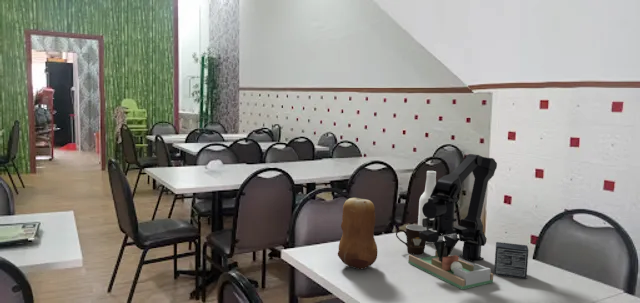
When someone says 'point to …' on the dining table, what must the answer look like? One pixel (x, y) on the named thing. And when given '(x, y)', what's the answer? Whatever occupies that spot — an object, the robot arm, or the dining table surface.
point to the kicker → (444, 260)
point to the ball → (456, 265)
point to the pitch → (455, 272)
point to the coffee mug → (414, 239)
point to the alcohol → (427, 196)
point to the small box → (511, 260)
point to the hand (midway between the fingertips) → (443, 257)
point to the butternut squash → (358, 234)
